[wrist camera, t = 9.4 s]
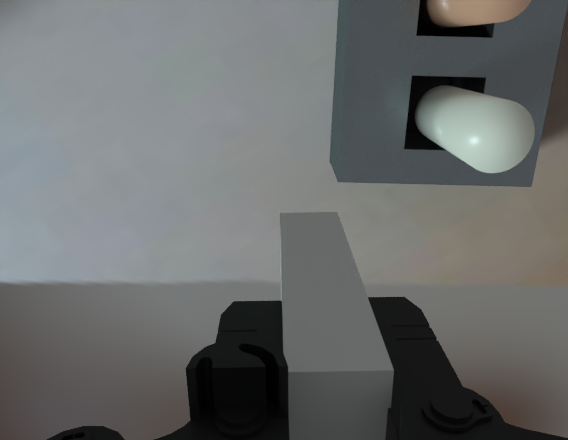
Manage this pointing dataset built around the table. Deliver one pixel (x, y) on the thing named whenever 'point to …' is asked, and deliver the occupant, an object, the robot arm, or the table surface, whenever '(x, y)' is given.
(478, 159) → the white plug
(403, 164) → the grey peg holder block
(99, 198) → the table surface
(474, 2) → the terracotta plug
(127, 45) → the table surface
